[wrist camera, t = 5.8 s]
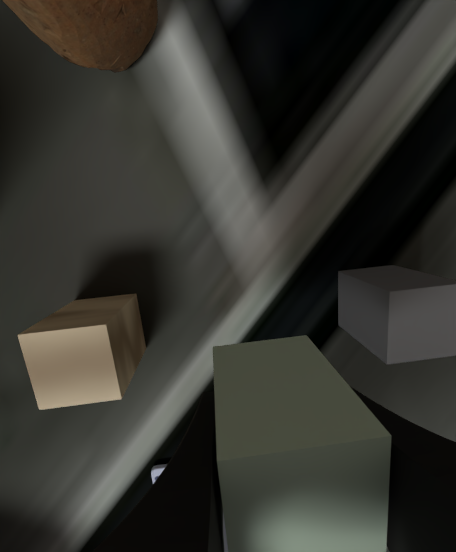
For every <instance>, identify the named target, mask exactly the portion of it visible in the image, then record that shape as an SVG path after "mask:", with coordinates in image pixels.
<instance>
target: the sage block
mask: <svg viewBox="0 0 456 552" xmlns="http://www.w3.org/2000/svg"><path fill="white" fill-rule="evenodd" d="M213 367H214V395H215V423H216V451H217V466H218V474H219V482H220V490H221V498H222V506H223V513H224V521H225V529H226V537H227V545H228V552H386V544H387V522H388V500H389V479H390V457H391V435H390V433H389V432H388V431H387V430H386V429H385V428H384V426H383V425H382V424H381V423H380V422H379V420H378V419H377V418H376V417H375V416H374V415H373V413H372V412H371V411H370V410H369V409H368V407H367V406H366V405H365V404H364V403H363V402H362V400H361V399H360V398H359V397H358V396H357V394H356V393H355V392H354V391H353V390H352V389H351V387H350V386H349V385H348V384H347V383H346V381H345V380H344V379H343V378H342V377H341V376H340V374H339V373H338V372H337V371H336V370H335V368H334V367H333V366H332V365H331V364H330V363H329V361H328V360H327V359H326V358H325V357H324V355H323V354H322V353H321V352H320V351H319V350H318V348H317V347H316V346H315V345H314V344H313V343H312V341H311V340H310V339H309V338H308V337H307V335H305V336H297V337H289V338H281V339H272V340H264V341H256V342H248V343H240V344H232V345H224V346H215V347H213Z"/></svg>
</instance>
